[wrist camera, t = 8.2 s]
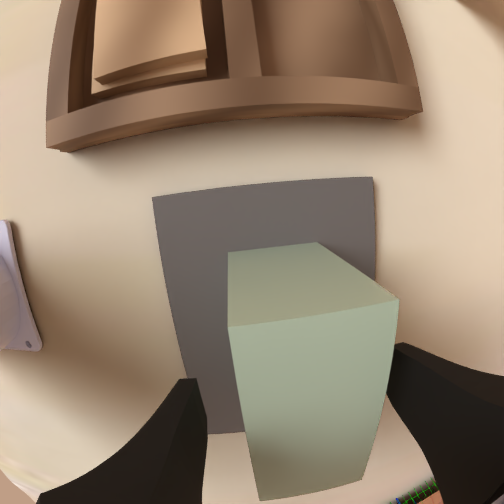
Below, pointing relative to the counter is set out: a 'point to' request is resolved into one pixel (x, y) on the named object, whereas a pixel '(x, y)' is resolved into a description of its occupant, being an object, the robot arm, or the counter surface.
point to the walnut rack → (242, 70)
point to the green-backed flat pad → (435, 500)
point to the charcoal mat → (239, 239)
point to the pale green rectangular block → (308, 364)
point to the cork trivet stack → (146, 44)
